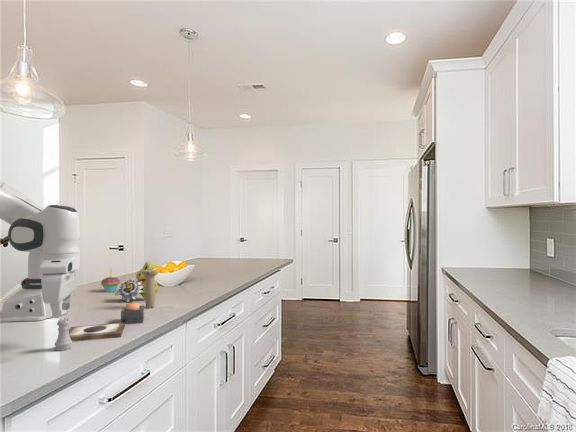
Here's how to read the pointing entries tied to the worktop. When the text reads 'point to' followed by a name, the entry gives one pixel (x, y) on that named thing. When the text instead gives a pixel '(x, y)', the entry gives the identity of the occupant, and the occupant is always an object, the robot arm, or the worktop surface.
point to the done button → (132, 306)
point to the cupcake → (110, 283)
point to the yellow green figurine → (143, 278)
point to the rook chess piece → (63, 336)
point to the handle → (150, 287)
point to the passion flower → (131, 290)
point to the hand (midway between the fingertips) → (61, 313)
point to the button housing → (132, 315)
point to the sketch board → (96, 331)
